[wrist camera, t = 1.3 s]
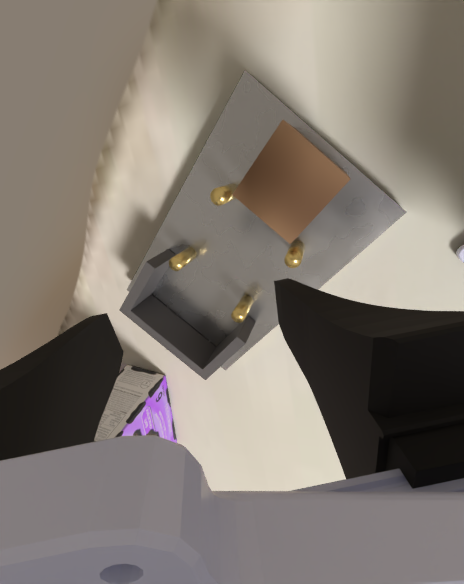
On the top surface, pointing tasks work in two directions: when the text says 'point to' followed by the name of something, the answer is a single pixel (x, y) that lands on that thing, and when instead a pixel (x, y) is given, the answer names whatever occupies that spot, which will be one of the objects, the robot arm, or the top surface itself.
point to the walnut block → (290, 182)
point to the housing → (178, 323)
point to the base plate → (254, 227)
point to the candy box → (137, 407)
